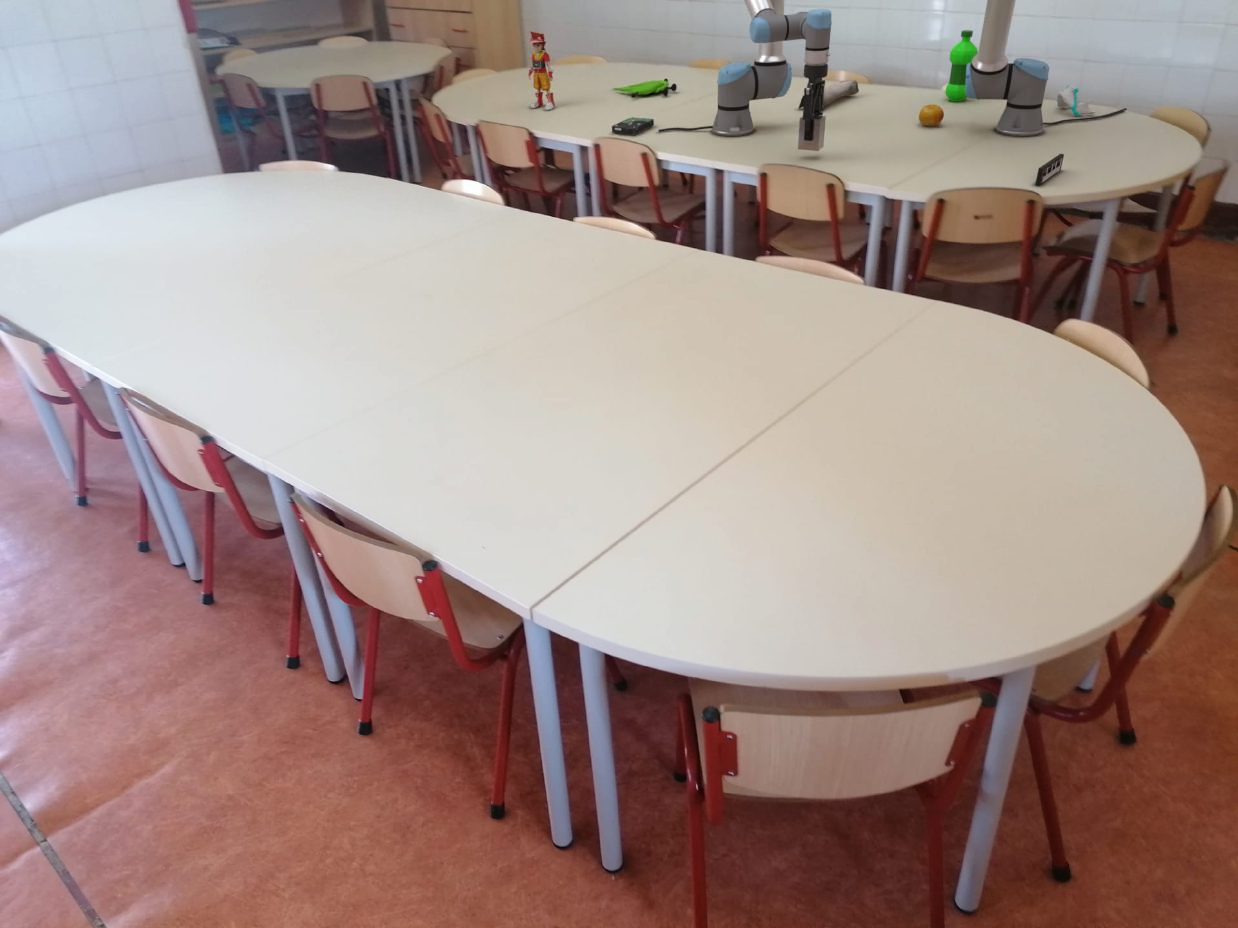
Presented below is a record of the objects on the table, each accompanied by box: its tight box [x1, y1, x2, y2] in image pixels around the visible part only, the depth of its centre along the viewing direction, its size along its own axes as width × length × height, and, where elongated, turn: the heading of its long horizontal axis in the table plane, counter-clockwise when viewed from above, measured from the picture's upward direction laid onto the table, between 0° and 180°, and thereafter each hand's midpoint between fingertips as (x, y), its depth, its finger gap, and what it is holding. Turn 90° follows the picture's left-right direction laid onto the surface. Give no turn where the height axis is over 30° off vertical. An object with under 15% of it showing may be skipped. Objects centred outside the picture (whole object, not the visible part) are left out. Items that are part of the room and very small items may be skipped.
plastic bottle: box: [945, 29, 979, 102], centre depth 350 cm, size 10×10×25 cm
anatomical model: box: [1056, 84, 1096, 117], centre depth 331 cm, size 15×10×10 cm
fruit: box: [918, 104, 945, 127], centre depth 327 cm, size 8×8×8 cm
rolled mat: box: [798, 79, 860, 110], centre depth 363 cm, size 30×9×10 cm
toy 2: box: [612, 78, 677, 99], centre depth 396 cm, size 28×5×30 cm
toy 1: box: [527, 31, 556, 111], centre depth 374 cm, size 12×9×30 cm
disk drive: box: [611, 116, 655, 136], centre depth 345 cm, size 10×3×15 cm
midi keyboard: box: [1035, 153, 1065, 186], centre depth 273 cm, size 18×1×5 cm, turn 138°
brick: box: [797, 115, 827, 152], centre depth 299 cm, size 7×5×10 cm
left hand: (811, 138), depth 300 cm, fingers closed on brick, 5 cm apart
